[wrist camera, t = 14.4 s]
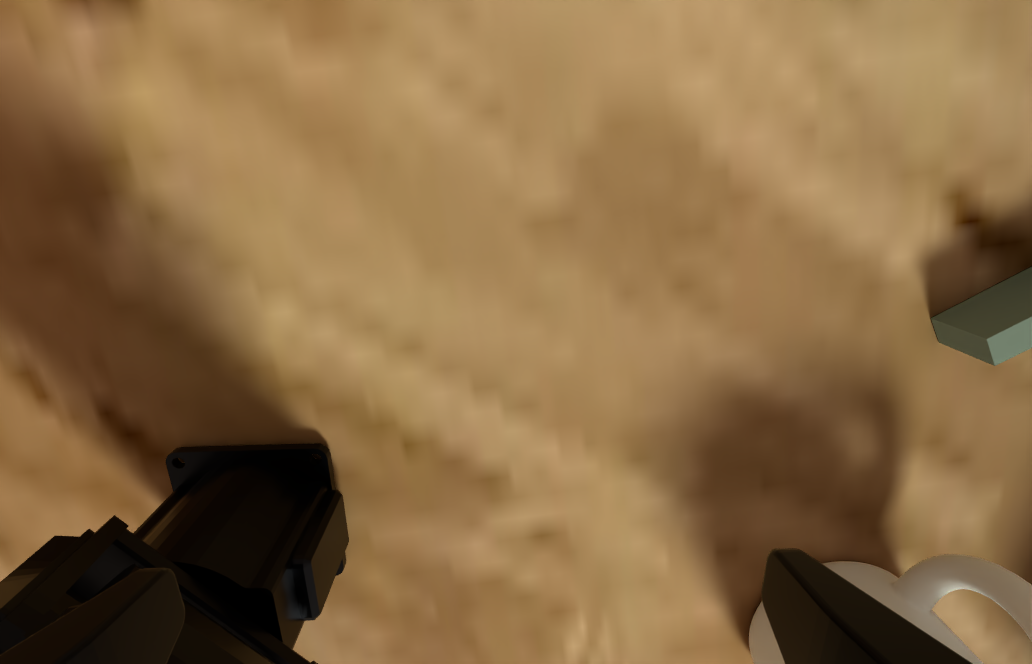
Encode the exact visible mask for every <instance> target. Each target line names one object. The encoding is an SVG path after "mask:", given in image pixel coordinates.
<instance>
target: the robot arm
mask: <svg viewBox="0 0 1032 664" xmlns="http://www.w3.org/2000/svg"><path fill="white" fill-rule="evenodd" d="M312 454H318V455H319V456H320V457H321V459H316V458H314V457H313V455H312ZM178 458H181V459H182V460H184V462H185V463H182V462H181V461H179V459H178ZM166 465H167V469H168V473H169V477H170V481H171V484H172V488H173V493H172V494H171V495H170V496H169V497H168V498H167V499H166V500H165V501H164V502H163V503H162V504H161V505H160V506H159V507H158V508H157V509H156V510H155V511H154V512H153V513H152V514H151V515H150V517H149V518H148V519H147V520H146V521H145V522H144V523H143V524H142V525H141V526H140V527H139V528H138V529H137V530H136V531H135V532H134V533H131V532H130V531H129V530H127V529H126V528H127V527H128V525H127V524H126V523H124V522H123V521H122V520H120V519H119V518H117V517H116V516H115V515H114V516H113V517H112V518H111V519H109V520H108V521H107V522H106V523H105V524H104V525H103V526H102V527H101V528H99V529H98V530H97V531H96V532H93V531H92V530H90V529H88V530H87V531H86V532H85V533H84V534H82V535H81V536H80V537H74V536H54V537H53V538H52V539H51V540H49V541H48V542H47V543H46V544H45V545H43V546H42V547H41V548H40V549H39V550H38V551H36V552H35V553H34V554H33V555H32V556H31V557H29V558H28V559H27V560H26V561H25V562H24V563H22V564H21V565H20V566H19V567H18V568H16V569H15V570H14V571H13V572H12V573H10V574H9V575H8V576H7V577H6V578H4V579H3V580H2V581H1V582H0V664H318V663H316V662H315V661H312V662H311V663H310V662H309V661H308V660H306V659H305V658H303V657H302V656H301V655H299V654H298V653H297V652H295V651H294V650H293V647H294V645H295V643H296V640H297V638H298V635H299V633H300V631H301V628H302V626H303V624H304V621H306V620H315V619H316V618H317V617H318V616H319V615H320V614H321V612H322V609H323V607H324V604H325V601H326V599H327V596H328V594H329V591H330V589H331V586H332V583H333V581H334V578H335V576H337V575H339V574H341V573H342V571H343V570H344V567H345V564H346V555H345V550H346V548H347V545H348V542H349V537H348V530H347V523H346V516H345V509H344V502H343V495H342V494H341V493H340V492H339V490H336V487H335V480H334V474H333V467H332V460H331V453H330V451H329V449H328V448H327V447H326V446H324V445H322V444H317V443H314V444H278V445H243V446H207V447H180V448H177V449H175V450H174V451H173V452H171V453H170V454H169V455H168V456H167V458H166ZM762 602H763V606H764V609H765V612H766V615H767V617H768V620H769V623H770V625H771V628H772V631H773V633H774V636H775V638H776V641H777V644H778V646H779V649H780V652H781V654H782V657H783V660H784V662H785V664H973V663H971V662H970V661H968V660H967V659H965V658H964V657H962V656H961V655H959V654H958V653H956V652H955V651H953V650H951V649H950V648H948V647H947V646H945V645H944V644H942V643H941V642H939V641H938V640H936V639H935V638H933V637H932V636H930V635H929V634H927V633H926V632H924V631H923V630H921V629H920V628H918V627H917V626H915V625H914V624H912V623H911V622H909V621H908V620H906V619H905V618H903V617H902V616H900V615H899V614H897V613H896V612H894V611H893V610H891V609H890V608H888V607H887V606H885V605H883V604H882V603H880V602H879V601H877V600H876V599H874V598H873V597H871V596H870V595H868V594H867V593H865V592H864V591H862V590H861V589H859V588H858V587H856V586H855V585H853V584H852V583H850V582H849V581H847V580H846V579H844V578H843V577H841V576H840V575H838V574H837V573H835V572H834V571H832V570H831V569H829V568H828V567H826V566H825V565H823V564H822V563H820V562H819V561H817V560H815V559H814V558H812V557H811V556H809V555H808V554H806V553H805V552H803V551H801V550H799V549H794V548H792V549H774V550H771V551H770V552H769V554H768V557H767V562H766V568H765V573H764V579H763V585H762Z"/></svg>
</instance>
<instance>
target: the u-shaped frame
mask: <svg viewBox="0 0 1032 664" xmlns="http://www.w3.org/2000/svg"><path fill="white" fill-rule="evenodd" d="M931 320H932V323H933V326H934V329H935V332H936V335H937V338H938V341H939V343H942V344H944V345H946V346H949V347H951V348H953V349H956V350H958V351H961V352H963V353H965V354H968V355H970V356H973V357H975V358H977V359H980V360H982V361H984V362H987V363H989V364H992V365H994V366H996V365H998V364H1000V363H1002V362H1004V361H1006V360H1008V359H1010V358H1012V357H1014V356H1016V355H1018V354H1020V353H1022V352H1024V351H1026V350H1028V349H1030V348H1032V267H1030V268H1028V269H1026V270H1024V271H1022V272H1020V273H1018V274H1016V275H1014V276H1012V277H1010V278H1008V279H1007V280H1005V281H1003V282H1001V283H999V284H997V285H995V286H993V287H991V288H989V289H987V290H985V291H983V292H981V293H979V294H977V295H975V296H973V297H971V298H969V299H968V300H966V301H964V302H962V303H960V304H958V305H956V306H954V307H952V308H950V309H948V310H946V311H944V312H942V313H940V314H938V315H936V316H934V317H932V318H931Z"/></svg>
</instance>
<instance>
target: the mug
mask: <svg viewBox="0 0 1032 664" xmlns="http://www.w3.org/2000/svg"><path fill="white" fill-rule="evenodd" d="M822 564H823V565H825V566H826V567H828V568H829V569H831V570H832V571H834V572H835V573H837V574H838V575H840V576H841V577H843V578H844V579H846V580H847V581H849V582H850V583H852V584H853V585H855V586H856V587H858V588H859V589H861V590H862V591H864V592H865V593H867V594H868V595H870V596H871V597H873V598H874V599H876V600H877V601H879V602H880V603H882V604H883V605H885V606H887V607H888V608H890V609H891V610H893V611H894V612H896V613H897V614H899V615H900V616H902V617H903V618H905V619H906V620H908V621H909V622H911V623H912V624H914V625H915V626H917V627H918V628H920V629H921V630H923V631H924V632H926V633H927V634H929V635H930V636H932V637H933V638H935V639H936V640H938V641H939V642H941V643H942V644H944V645H945V646H947V647H948V648H950V649H951V650H953V651H955V652H956V653H958V654H959V655H961V656H962V657H964V658H965V659H967V660H968V661H970V662H971V663H973V664H984V663H983V662H982V661H981V660H980V659H979V658H978V657H977V656H976V655H975V654H974V653H973V652H972V651H971V650H970V649H969V648H968V647H967V646H966V645H965V644H964V643H963V642H962V641H961V640H960V639H959V638H958V637H957V636H956V635H955V634H954V633H953V632H952V631H951V629H950V628H949V627H948V626H947V625H946V624H945V623H944V622H943V621H942V620H941V619H940V618H939V617H938V616H937V615H936V614H935V612H934V611H933V610H932V608H933V606H934V605H935V604H936V603H937V602H938V601H939V599H941V598H942V597H943V596H944V595H946V594H947V593H949V592H951V591H954V590H957V589H969V590H972V591H975V592H978V593H980V594H983V595H985V596H987V597H988V598H990V599H992V600H993V601H995V602H996V603H997V604H998V605H1000V606H1001V607H1002V608H1003V609H1005V610H1006V611H1007V612H1008V613H1009V614H1010V615H1011V616H1012V617H1013V618H1014V619H1015V620H1016V621H1017V623H1018V624H1019V625H1020V626H1021V628H1022V629H1023V630H1024V631H1025V633H1026V634H1027V636H1028V637H1029V639H1030V640H1031V642H1032V585H1031V584H1030V583H1028V582H1027V581H1025V580H1024V579H1023V578H1021V577H1020V576H1018V575H1017V574H1015V573H1013V572H1011V571H1009V570H1008V569H1006V568H1004V567H1002V566H1000V565H998V564H996V563H993V562H990V561H988V560H985V559H982V558H978V557H973V556H968V555H957V554H944V555H938V556H933V557H930V558H927V559H925V560H922V561H920V562H919V563H917V564H916V565H914V566H912V567H911V568H910V569H909V570H907V571H906V572H905V573H904V574H903V575H902V576H901V577H900V578H897V577H896V576H895V575H893V574H892V573H890V572H888V571H886V570H884V569H882V568H880V567H877V566H874V565H871V564H867V563H861V562H850V561H837V562H828V563H822ZM749 648H750V652H751V656H752V659H753V662H754V664H785V662H784V660H783V657H782V654H781V652H780V649H779V646H778V644H777V641H776V638H775V636H774V633H773V631H772V628H771V625H770V623H769V620H768V617H767V615H766V612H765V609H764V606H763V602H762V601H761V603H760V605H759V606H758V608H757V610H756V612H755V614H754V616H753V618H752V622H751V625H750V630H749Z"/></svg>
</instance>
